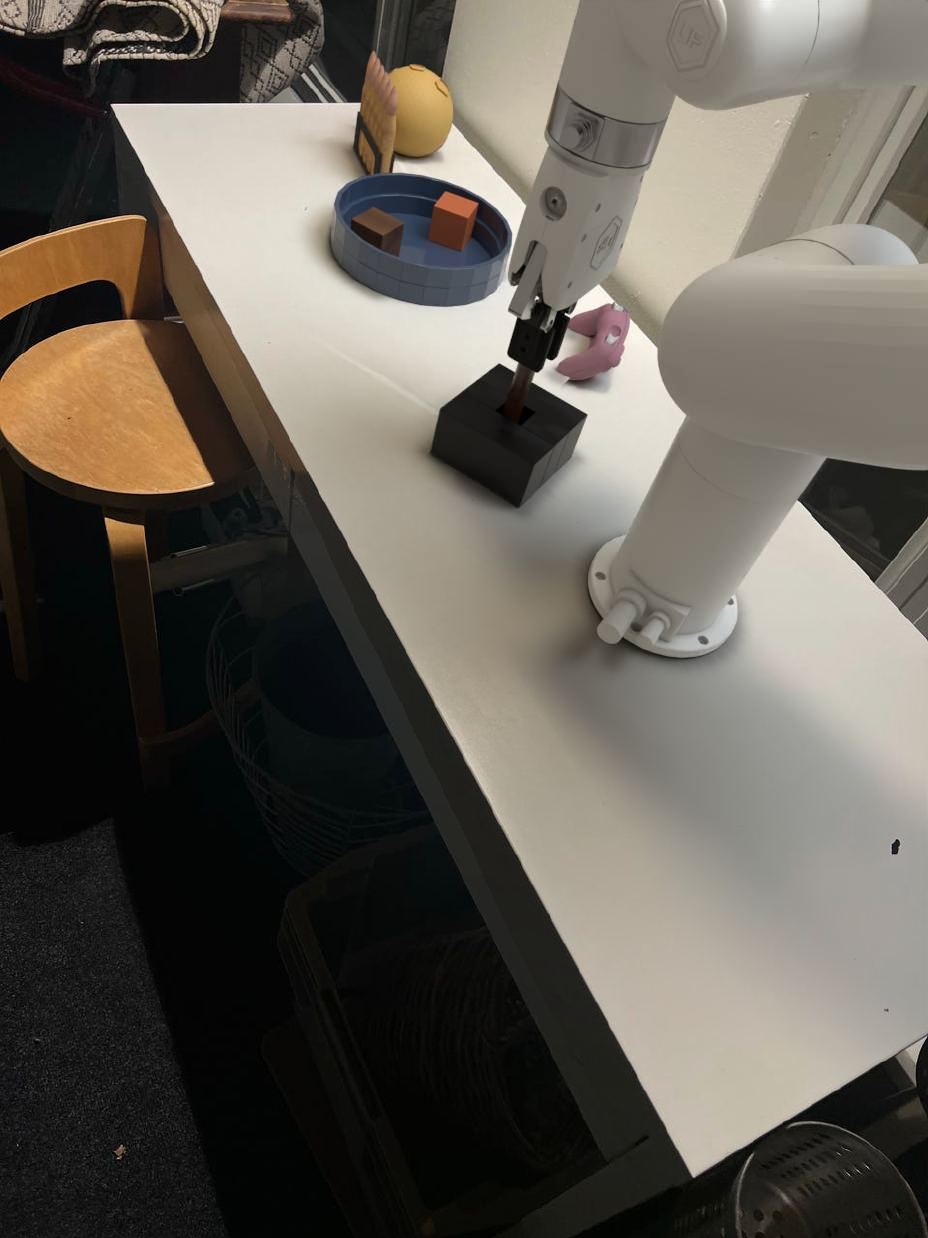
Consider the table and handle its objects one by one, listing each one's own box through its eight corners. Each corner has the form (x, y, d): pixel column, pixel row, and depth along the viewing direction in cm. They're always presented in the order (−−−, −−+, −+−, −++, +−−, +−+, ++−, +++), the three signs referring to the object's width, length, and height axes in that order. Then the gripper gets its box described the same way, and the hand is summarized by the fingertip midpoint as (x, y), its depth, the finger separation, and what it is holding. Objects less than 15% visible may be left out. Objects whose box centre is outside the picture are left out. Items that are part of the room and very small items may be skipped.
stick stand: (519, 508, 78) (534, 465, 74) (429, 452, 80) (439, 408, 76) (571, 456, 84) (588, 414, 80) (486, 406, 86) (499, 362, 82)
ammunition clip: (389, 198, 107) (405, 90, 98) (374, 197, 106) (388, 89, 97) (366, 153, 113) (379, 47, 103) (352, 152, 112) (363, 46, 103)
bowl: (438, 335, 91) (447, 291, 88) (293, 250, 96) (296, 205, 92) (532, 271, 103) (543, 230, 99) (399, 198, 107) (405, 156, 103)
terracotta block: (427, 239, 101) (433, 205, 98) (438, 224, 104) (445, 190, 101) (460, 251, 101) (468, 217, 98) (471, 236, 103) (478, 202, 100)
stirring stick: (505, 451, 80) (554, 304, 69) (489, 442, 81) (536, 295, 69) (513, 442, 81) (563, 296, 70) (498, 434, 82) (546, 287, 70)
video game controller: (583, 402, 92) (634, 359, 87) (551, 373, 90) (601, 329, 86) (594, 349, 98) (642, 307, 94) (563, 322, 97) (610, 278, 92)
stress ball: (445, 178, 113) (462, 93, 105) (367, 163, 111) (378, 75, 103) (444, 142, 119) (459, 59, 111) (369, 127, 117) (380, 42, 110)
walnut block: (377, 271, 95) (383, 235, 92) (347, 254, 96) (351, 218, 93) (398, 257, 97) (404, 222, 94) (368, 241, 98) (373, 206, 95)
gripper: (598, 184, 54) (520, 422, 68) (699, 121, 64) (612, 342, 78) (496, 130, 56) (440, 374, 70) (609, 77, 65) (540, 301, 79)
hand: (531, 356), depth 74 cm, fingers closed on stirring stick, 1 cm apart
